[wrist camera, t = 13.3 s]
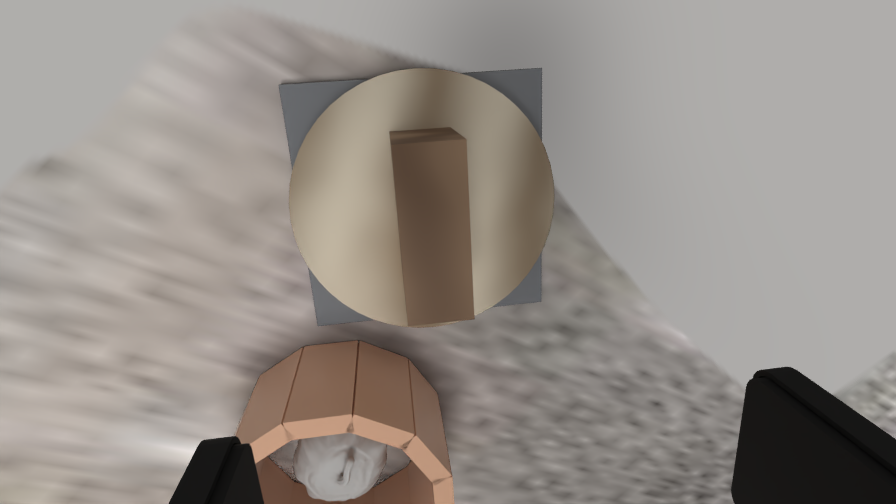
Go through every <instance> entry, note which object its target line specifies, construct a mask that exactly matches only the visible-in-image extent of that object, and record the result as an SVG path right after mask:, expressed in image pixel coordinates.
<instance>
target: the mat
mask: <svg viewBox="0 0 896 504" xmlns="http://www.w3.org/2000/svg"><path fill="white" fill-rule="evenodd" d="M461 74H464V75H467V76H471V77H473V78H475V79H477V80H479V81H482V82H484V83H486V84H488V85H490V86H491V87H493V88H494V89H496V90H497V91H499V92H501V93H502V94H503V95H505V96H506V97H507V98H508V99H509V100H510V101H512V102H513V103H514V104H515V105H516V106H517V107H518V108H519V109H520V110H521V111H522V112H523V114H524V115H525V116H526V117H527V118H528V119H529V121H530V122H531V124H532V125H533V127H534V128H535V130H536V131H537V133H538V135H539V137H540V139H541V141H542V68H534V69H518V70H501V71H486V72H470V73H461ZM367 80H370V79H360V80H345V81H329V82H313V83H298V84H282V85H279V90H280V96H281V103H282V109H283V115H284V121H285V127H286V133H287V140H288V146H289V152H290V158H291V164H292V170H293V166H294V163H295V160H296V157H297V154H298V151H299V149H300V147H301V145H302V143H303V141H304V139H305V137H306V135H307V133H308V132H309V130H310V129H311V128H312V126H313V125H314V123H315V122H316V120H317V119H318V118H319V117H320V116H321V114H322V113H323V112H324V111H325V110H326V109H327V108H328V107H329V106H330V105H331V104H332V103H333V102H335V101H336V100H337V99H338V98H339V97H341V96H342V95H343V94H344V93H346V92H347V91H349V90H351V89H352V88H354V87H356V86H357V85H359V84H361V83H363V82H365V81H367ZM308 269H309V267H308ZM309 275H310V281H311V287H312V293H313V300H314V306H315V312H316V318H317V324H318V326H324V325H333V324H342V323H351V322H360V321H369V320H374V319H371V318H369V317H367V316H364V315H362V314H360V313H358V312H356V311H354V310H353V309H351V308H349V307H348V306H346V305H345V304H343V303H342V302H341V301H339V300H338V299H337V298H336V297H334V296H333V295H332V294H331V293H330V292H329V291H328V290H327V289H326V288H325V287H324V286H323V285H322V284H321V283H320V282H319V281H318V280H317V278H316V277H315V276H314V274H313V273H312V271H311V270H310V269H309ZM534 302H541V253H540V255H539V257H538V259H537V261H536V263H535V264H534V266H533V267H532V269H531V270H530V272H529V273H528V274H527V276H526V277H525V278H524V279H523V280H522V282H521V283H520V284H519V285H518V286H517V287H516V288H515V289H514V290H513V291H512V292H511V293H510V294H509V295H507V296H506V297H505V298H504V299H502V300H501V301H500V302H498V303H497V304H495V305H494V306H492V307H497V306H506V305H515V304H524V303H534Z"/></svg>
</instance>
